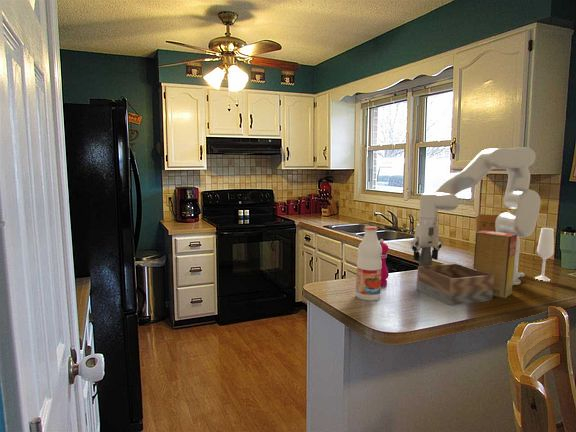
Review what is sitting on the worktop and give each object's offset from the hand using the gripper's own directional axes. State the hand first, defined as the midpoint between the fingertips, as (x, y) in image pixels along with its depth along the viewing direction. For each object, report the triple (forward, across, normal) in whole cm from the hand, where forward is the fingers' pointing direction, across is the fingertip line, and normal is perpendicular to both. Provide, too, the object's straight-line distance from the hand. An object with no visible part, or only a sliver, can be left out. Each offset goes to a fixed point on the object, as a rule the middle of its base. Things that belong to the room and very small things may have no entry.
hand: (425, 259), depth 177 cm
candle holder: (+10, 0, 0) cm, 10 cm away
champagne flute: (+10, -58, +11) cm, 60 cm away
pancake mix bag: (+11, -52, -12) cm, 54 cm away
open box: (+10, 0, +18) cm, 21 cm away
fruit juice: (+10, +35, +11) cm, 38 cm away
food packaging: (+10, -18, +20) cm, 29 cm away
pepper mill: (+10, +21, -3) cm, 24 cm away
